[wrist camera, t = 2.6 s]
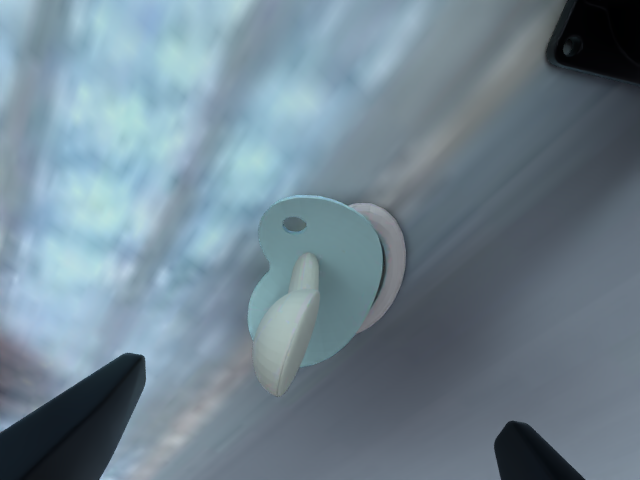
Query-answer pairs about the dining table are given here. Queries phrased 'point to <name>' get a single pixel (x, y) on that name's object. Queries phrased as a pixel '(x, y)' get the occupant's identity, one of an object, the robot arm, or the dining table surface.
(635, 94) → the dining table surface
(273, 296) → the pacifier
